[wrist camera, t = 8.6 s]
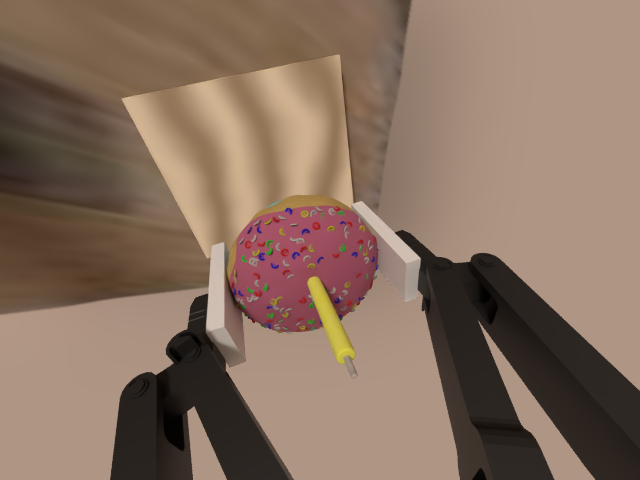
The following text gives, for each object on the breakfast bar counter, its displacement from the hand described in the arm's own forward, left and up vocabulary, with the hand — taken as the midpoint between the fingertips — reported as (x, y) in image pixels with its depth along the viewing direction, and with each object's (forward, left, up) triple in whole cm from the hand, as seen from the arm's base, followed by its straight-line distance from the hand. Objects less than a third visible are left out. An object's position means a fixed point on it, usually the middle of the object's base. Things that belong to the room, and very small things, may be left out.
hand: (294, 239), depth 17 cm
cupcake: (0, 0, -2) cm, 2 cm away
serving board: (0, 0, -16) cm, 16 cm away
